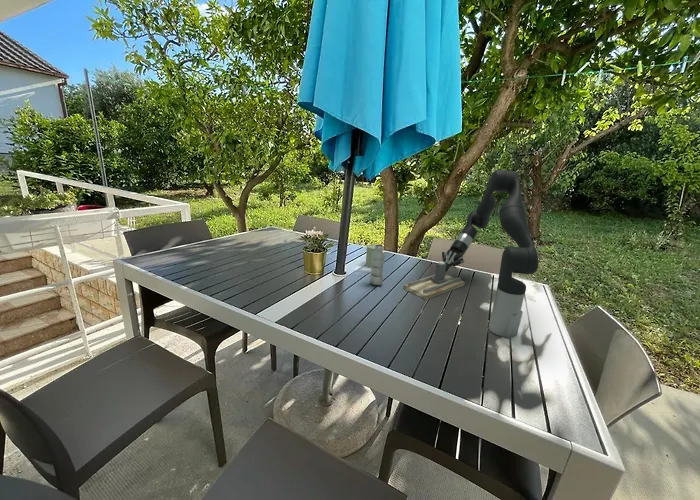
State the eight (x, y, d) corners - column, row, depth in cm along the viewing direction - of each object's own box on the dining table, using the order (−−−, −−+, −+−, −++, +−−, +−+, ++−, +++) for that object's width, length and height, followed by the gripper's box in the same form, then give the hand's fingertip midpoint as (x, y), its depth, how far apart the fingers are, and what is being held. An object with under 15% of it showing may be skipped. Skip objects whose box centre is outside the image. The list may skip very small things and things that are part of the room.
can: (373, 261, 187) (374, 242, 183) (384, 266, 180) (386, 246, 177) (362, 264, 181) (363, 244, 178) (373, 269, 175) (374, 248, 171)
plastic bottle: (382, 287, 152) (385, 248, 145) (368, 285, 153) (371, 246, 147) (383, 282, 158) (386, 244, 151) (370, 280, 159) (373, 243, 153)
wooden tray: (464, 285, 159) (465, 279, 158) (426, 299, 141) (427, 292, 140) (441, 276, 170) (442, 270, 168) (403, 288, 152) (404, 281, 151)
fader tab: (446, 282, 156) (449, 263, 153) (440, 284, 153) (443, 265, 150) (437, 278, 160) (439, 259, 157) (430, 280, 157) (433, 261, 154)
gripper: (448, 236, 162) (430, 262, 159) (471, 242, 153) (452, 270, 149) (452, 244, 167) (435, 270, 164) (475, 251, 157) (457, 278, 154)
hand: (443, 270), depth 156 cm, fingers closed
